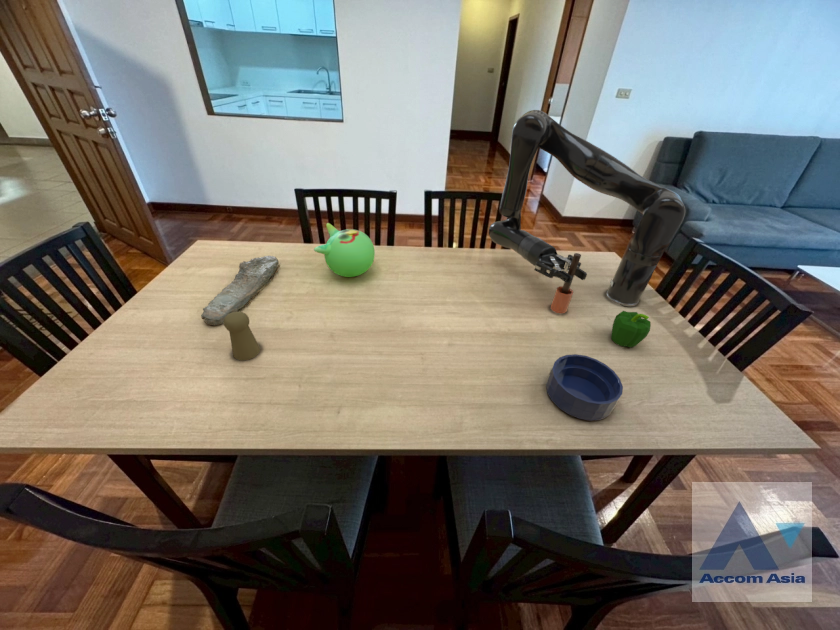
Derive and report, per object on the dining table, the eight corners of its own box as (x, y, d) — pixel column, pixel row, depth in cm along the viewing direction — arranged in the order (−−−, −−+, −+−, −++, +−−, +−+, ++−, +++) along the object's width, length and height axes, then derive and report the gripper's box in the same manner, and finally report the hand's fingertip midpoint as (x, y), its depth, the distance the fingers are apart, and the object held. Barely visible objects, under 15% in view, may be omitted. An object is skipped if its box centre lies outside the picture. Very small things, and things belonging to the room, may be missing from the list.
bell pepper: (599, 335, 97) (612, 306, 91) (620, 329, 100) (635, 300, 94) (623, 355, 91) (640, 325, 85) (646, 348, 94) (663, 318, 88)
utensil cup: (558, 304, 108) (565, 284, 104) (569, 312, 105) (577, 293, 101) (546, 307, 107) (553, 288, 102) (557, 316, 103) (565, 296, 99)
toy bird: (371, 287, 111) (369, 244, 102) (317, 284, 111) (311, 241, 102) (377, 259, 125) (376, 220, 116) (330, 257, 125) (325, 217, 116)
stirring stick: (558, 306, 106) (577, 252, 96) (563, 309, 105) (582, 255, 94) (554, 307, 106) (572, 253, 95) (558, 311, 105) (577, 256, 94)
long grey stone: (193, 327, 93) (229, 334, 93) (187, 312, 90) (224, 318, 89) (258, 259, 120) (286, 264, 119) (255, 246, 116) (284, 250, 116)
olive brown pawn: (265, 347, 87) (255, 311, 80) (248, 363, 82) (235, 326, 76) (245, 340, 88) (233, 305, 82) (227, 356, 84) (213, 320, 77)
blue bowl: (577, 365, 87) (585, 347, 83) (626, 408, 77) (637, 390, 73) (532, 383, 82) (539, 364, 78) (578, 431, 72) (588, 413, 68)
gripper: (520, 244, 103) (562, 271, 91) (557, 237, 109) (601, 262, 97) (515, 266, 108) (554, 295, 96) (551, 258, 113) (592, 285, 101)
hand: (578, 278), depth 96 cm, fingers open, 4 cm apart
